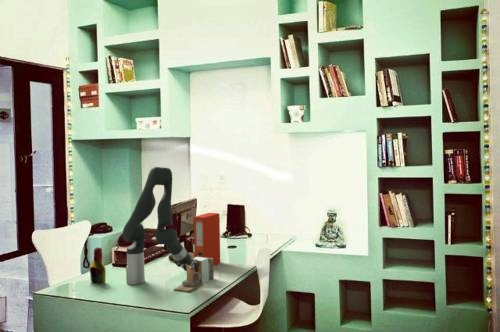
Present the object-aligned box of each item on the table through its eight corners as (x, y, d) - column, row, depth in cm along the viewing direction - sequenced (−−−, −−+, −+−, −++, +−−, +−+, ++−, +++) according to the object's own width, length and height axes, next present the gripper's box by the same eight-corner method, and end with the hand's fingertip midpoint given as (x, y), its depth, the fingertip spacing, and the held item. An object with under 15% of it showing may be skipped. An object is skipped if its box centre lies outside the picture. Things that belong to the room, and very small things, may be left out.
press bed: (173, 290, 253) (173, 268, 252) (198, 277, 277) (197, 256, 276) (190, 292, 249) (189, 270, 248) (213, 278, 273) (213, 258, 272)
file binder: (220, 262, 307) (219, 213, 305) (205, 269, 292) (203, 217, 290) (210, 261, 311) (208, 212, 309) (194, 268, 296) (193, 216, 294)
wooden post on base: (182, 285, 258) (181, 254, 257) (190, 280, 266) (189, 250, 264) (193, 286, 255) (192, 255, 254) (201, 282, 263) (200, 251, 262)
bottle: (109, 283, 270) (107, 248, 268) (99, 285, 265) (97, 250, 264) (97, 279, 278) (96, 245, 276) (87, 281, 273) (86, 247, 272)
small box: (190, 281, 268) (190, 259, 267) (198, 278, 273) (197, 256, 273) (202, 284, 264) (201, 260, 263) (209, 281, 269) (208, 258, 268)
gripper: (194, 248, 249) (206, 265, 260) (170, 246, 254) (183, 263, 266) (189, 261, 244) (201, 277, 256) (165, 259, 250) (178, 275, 261)
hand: (192, 270), depth 261 cm, fingers open, 6 cm apart
